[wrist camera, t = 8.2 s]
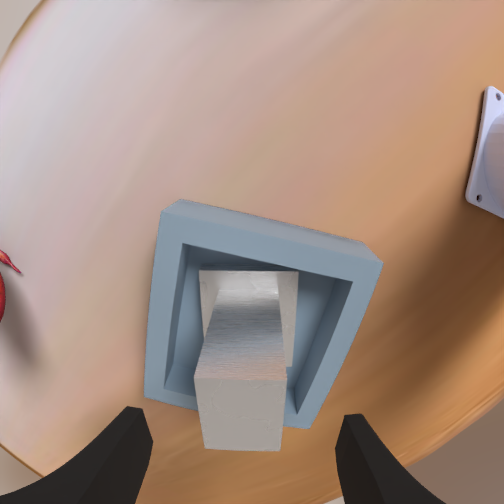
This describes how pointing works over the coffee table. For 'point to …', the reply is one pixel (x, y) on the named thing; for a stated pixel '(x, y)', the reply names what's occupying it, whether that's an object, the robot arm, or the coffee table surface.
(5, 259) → the decorative bird figurine
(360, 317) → the slate well
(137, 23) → the coffee table surface
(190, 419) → the coffee table surface
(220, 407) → the grey t-shaped bar
